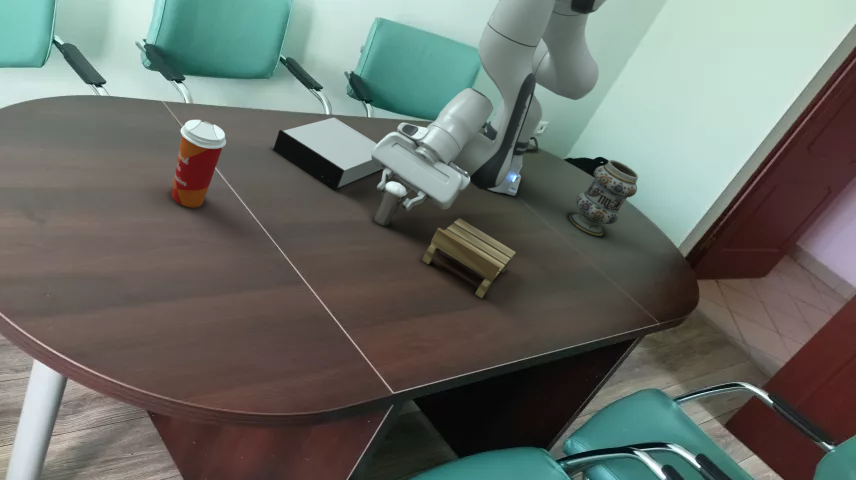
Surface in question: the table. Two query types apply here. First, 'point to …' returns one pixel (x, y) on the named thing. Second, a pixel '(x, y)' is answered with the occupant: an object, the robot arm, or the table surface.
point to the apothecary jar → (604, 197)
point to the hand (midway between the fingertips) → (392, 199)
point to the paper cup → (196, 161)
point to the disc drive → (328, 151)
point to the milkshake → (390, 202)
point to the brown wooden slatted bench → (471, 251)
